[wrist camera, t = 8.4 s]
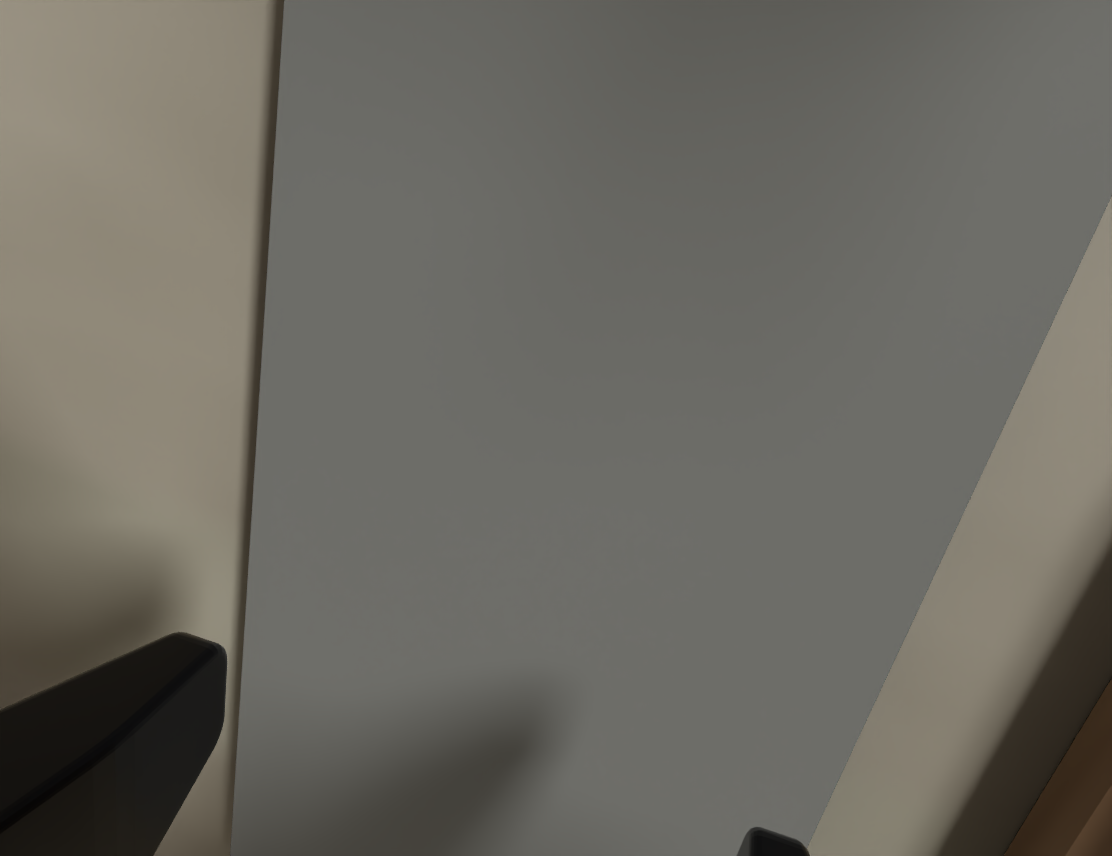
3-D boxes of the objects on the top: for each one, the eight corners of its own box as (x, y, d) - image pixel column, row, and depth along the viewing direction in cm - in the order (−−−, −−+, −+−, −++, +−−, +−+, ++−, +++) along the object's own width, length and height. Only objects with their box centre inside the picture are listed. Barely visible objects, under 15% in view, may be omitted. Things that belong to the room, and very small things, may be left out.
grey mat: (1190, -29, 8) (1214, -26, 7) (723, 995, 14) (718, 1036, 13) (331, -219, 9) (297, -230, 8) (252, 824, 15) (230, 858, 14)
